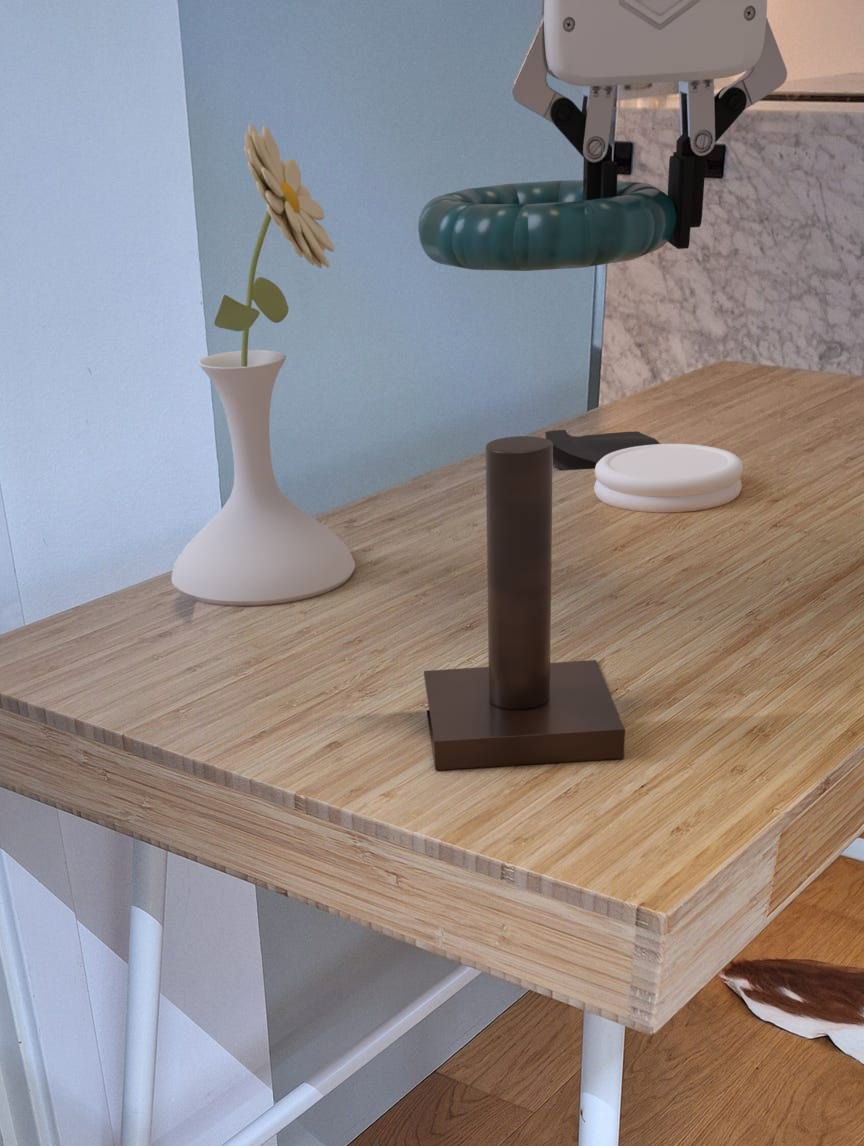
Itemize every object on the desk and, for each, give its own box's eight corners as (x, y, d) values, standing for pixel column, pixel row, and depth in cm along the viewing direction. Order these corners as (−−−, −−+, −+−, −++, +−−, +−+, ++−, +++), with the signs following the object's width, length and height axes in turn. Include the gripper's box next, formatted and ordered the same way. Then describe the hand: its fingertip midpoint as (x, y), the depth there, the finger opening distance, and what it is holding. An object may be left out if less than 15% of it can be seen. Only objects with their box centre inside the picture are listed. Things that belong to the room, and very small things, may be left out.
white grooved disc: (564, 519, 102) (565, 466, 100) (644, 485, 108) (647, 435, 106) (689, 542, 96) (693, 487, 94) (766, 505, 102) (771, 452, 100)
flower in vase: (286, 640, 85) (239, 137, 71) (137, 613, 91) (65, 140, 76) (405, 574, 94) (385, 114, 80) (262, 552, 99) (219, 118, 85)
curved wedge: (584, 498, 106) (584, 474, 105) (540, 453, 117) (540, 431, 116) (695, 486, 107) (697, 463, 106) (641, 443, 118) (642, 421, 117)
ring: (651, 231, 80) (654, 172, 79) (691, 265, 70) (695, 197, 68) (417, 245, 81) (415, 186, 79) (422, 281, 70) (420, 214, 68)
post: (595, 687, 77) (604, 414, 69) (623, 758, 70) (637, 462, 62) (424, 697, 77) (413, 427, 69) (435, 770, 70) (424, 476, 62)
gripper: (478, -223, 61) (484, 268, 72) (872, -250, 61) (819, 248, 72) (469, -202, 68) (475, 247, 78) (827, -226, 67) (784, 229, 78)
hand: (640, 243), depth 75 cm, fingers closed on ring, 3 cm apart
